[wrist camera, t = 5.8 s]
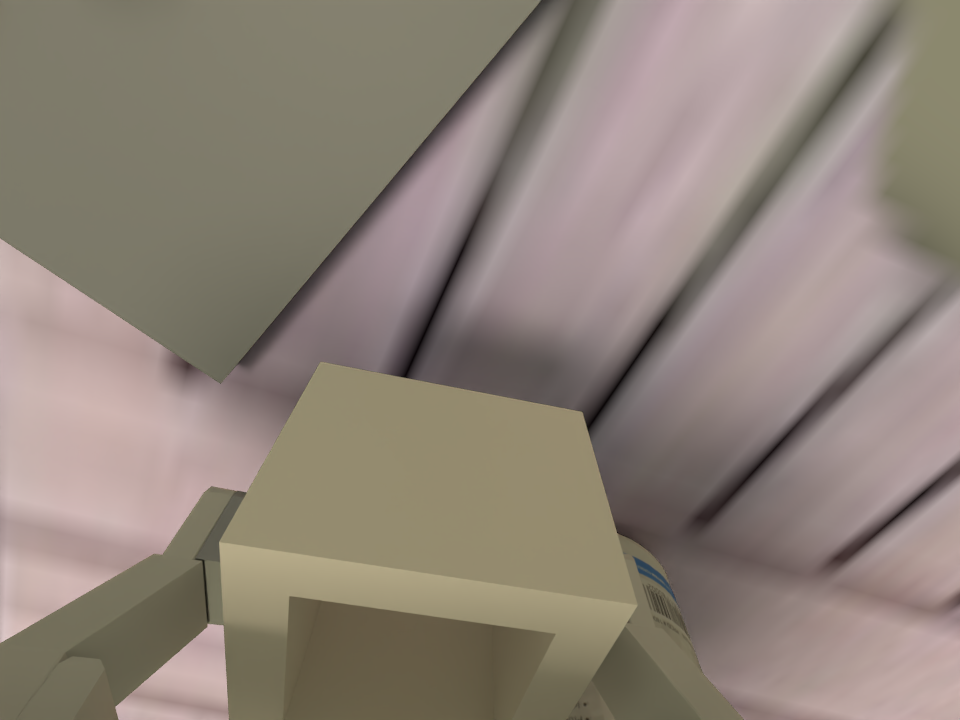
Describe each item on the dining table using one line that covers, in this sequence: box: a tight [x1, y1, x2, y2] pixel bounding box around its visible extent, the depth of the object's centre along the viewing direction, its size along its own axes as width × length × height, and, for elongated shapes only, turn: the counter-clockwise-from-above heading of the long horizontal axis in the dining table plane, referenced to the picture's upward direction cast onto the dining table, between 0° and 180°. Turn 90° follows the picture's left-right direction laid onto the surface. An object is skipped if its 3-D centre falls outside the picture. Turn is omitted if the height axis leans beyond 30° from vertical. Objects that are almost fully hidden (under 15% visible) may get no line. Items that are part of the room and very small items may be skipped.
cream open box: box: [219, 362, 638, 720], centre depth 10 cm, size 6×6×5 cm
